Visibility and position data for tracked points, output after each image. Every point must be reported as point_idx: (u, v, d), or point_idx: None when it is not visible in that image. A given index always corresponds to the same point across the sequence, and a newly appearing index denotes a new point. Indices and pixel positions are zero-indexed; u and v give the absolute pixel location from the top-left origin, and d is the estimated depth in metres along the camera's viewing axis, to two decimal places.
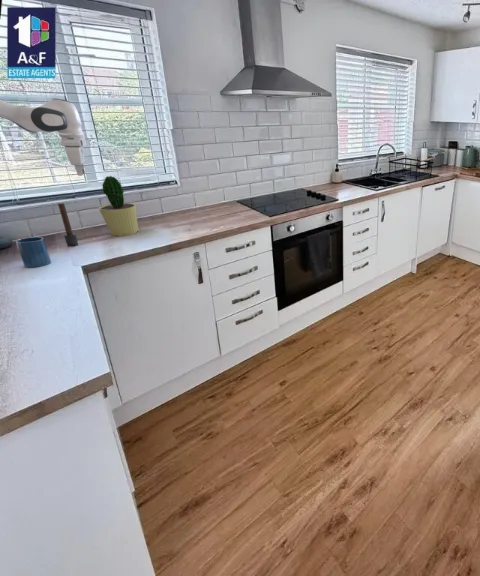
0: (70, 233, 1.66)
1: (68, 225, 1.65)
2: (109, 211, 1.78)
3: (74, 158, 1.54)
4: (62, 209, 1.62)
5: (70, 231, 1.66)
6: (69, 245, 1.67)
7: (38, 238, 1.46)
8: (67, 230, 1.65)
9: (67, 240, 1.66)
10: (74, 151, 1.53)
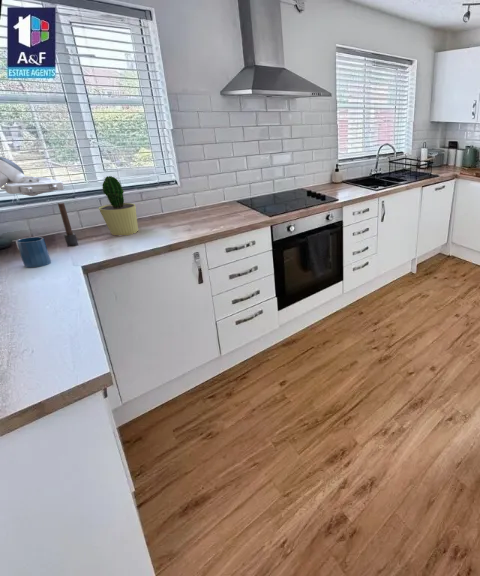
0: (70, 233, 1.66)
1: (68, 225, 1.65)
2: (109, 211, 1.78)
3: None
4: (62, 209, 1.62)
5: (70, 231, 1.66)
6: (69, 245, 1.67)
7: (38, 238, 1.46)
8: (67, 230, 1.65)
9: (67, 240, 1.66)
10: None
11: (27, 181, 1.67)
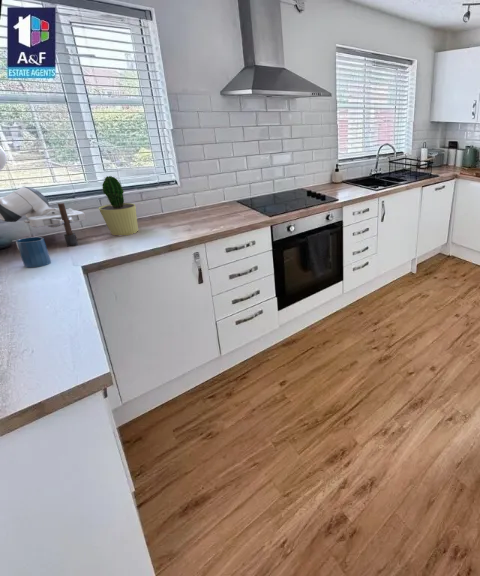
0: (70, 233, 1.66)
1: (68, 225, 1.65)
2: (109, 211, 1.78)
3: None
4: (62, 209, 1.61)
5: (70, 231, 1.66)
6: (69, 245, 1.67)
7: (38, 238, 1.46)
8: (67, 230, 1.65)
9: (67, 240, 1.66)
10: None
11: (50, 213, 1.67)
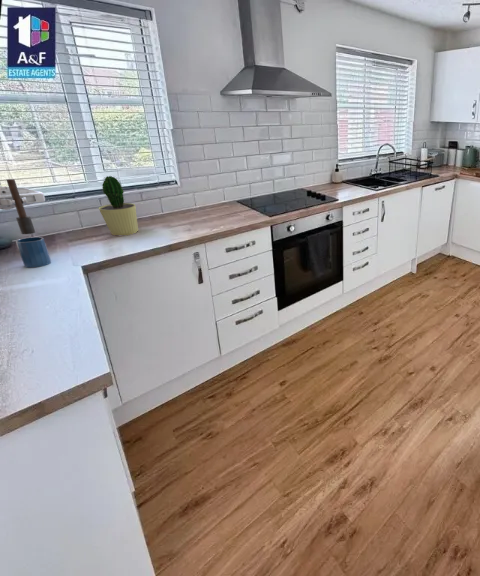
0: (23, 216, 1.39)
1: (20, 206, 1.38)
2: (109, 211, 1.78)
3: None
4: (12, 187, 1.35)
5: (23, 214, 1.39)
6: (22, 230, 1.40)
7: (38, 238, 1.46)
8: (19, 212, 1.38)
9: (20, 224, 1.39)
10: None
11: (0, 192, 1.40)
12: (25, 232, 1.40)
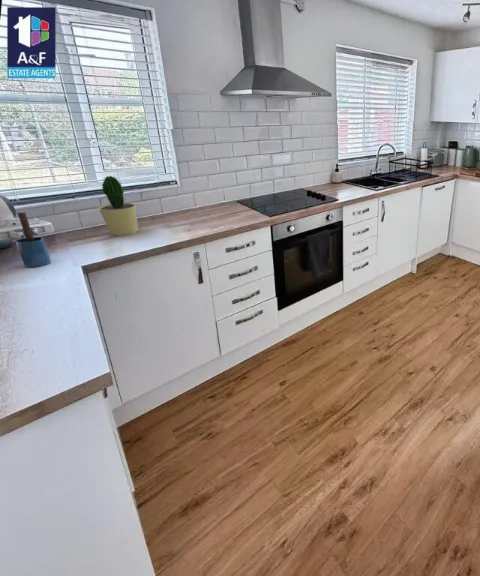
0: None
1: (31, 238, 1.42)
2: (109, 211, 1.78)
3: None
4: (23, 219, 1.39)
5: None
6: None
7: (38, 238, 1.46)
8: None
9: None
10: None
11: (10, 224, 1.44)
12: None
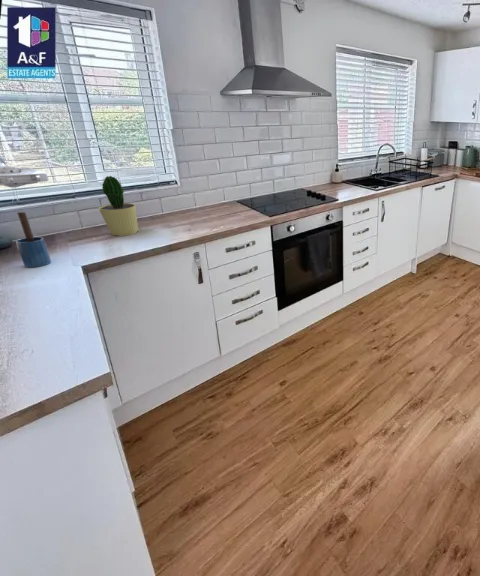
0: None
1: (31, 238, 1.42)
2: (109, 211, 1.78)
3: None
4: (23, 219, 1.39)
5: None
6: None
7: (38, 238, 1.46)
8: None
9: None
10: None
11: (8, 171, 1.57)
12: None
